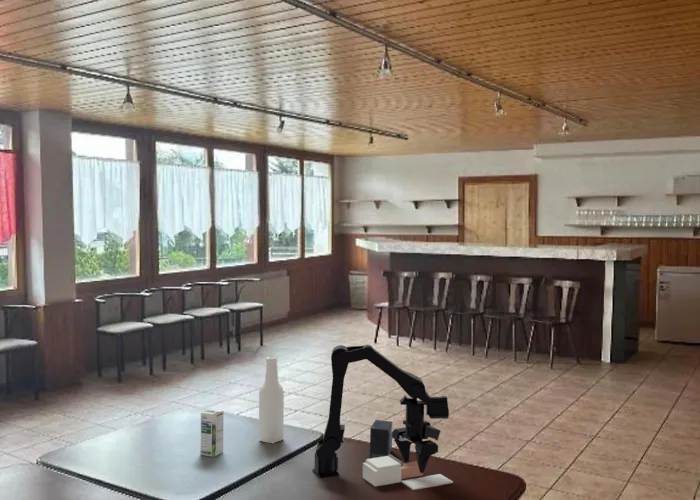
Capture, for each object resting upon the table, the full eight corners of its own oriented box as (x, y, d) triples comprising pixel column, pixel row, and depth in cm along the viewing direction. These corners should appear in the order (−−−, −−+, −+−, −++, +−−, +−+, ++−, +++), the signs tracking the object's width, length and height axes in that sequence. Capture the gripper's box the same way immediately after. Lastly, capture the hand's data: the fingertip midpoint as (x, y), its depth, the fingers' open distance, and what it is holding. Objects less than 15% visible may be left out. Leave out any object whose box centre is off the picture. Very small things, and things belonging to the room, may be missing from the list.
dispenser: (374, 486, 196) (375, 466, 196) (362, 477, 203) (362, 458, 203) (402, 481, 200) (403, 462, 200) (390, 472, 207) (390, 454, 207)
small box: (388, 461, 218) (388, 429, 218) (369, 459, 219) (369, 428, 219) (392, 450, 229) (393, 420, 228) (374, 449, 230) (374, 419, 230)
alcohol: (255, 442, 235) (255, 359, 235) (263, 435, 244) (264, 354, 243) (278, 444, 233) (279, 360, 233) (286, 437, 242) (287, 355, 241)
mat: (413, 490, 193) (413, 488, 193) (401, 481, 200) (401, 480, 200) (453, 482, 199) (453, 481, 199) (440, 475, 206) (440, 473, 206)
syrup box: (199, 455, 222) (199, 412, 221) (209, 449, 227) (210, 408, 227) (214, 457, 220) (214, 414, 219) (223, 452, 225) (224, 409, 225)
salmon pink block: (386, 482, 200) (386, 471, 200) (380, 478, 203) (380, 467, 203) (423, 476, 205) (423, 465, 205) (416, 472, 209) (416, 461, 209)
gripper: (453, 423, 201) (452, 474, 201) (421, 408, 218) (420, 455, 218) (422, 427, 196) (421, 479, 197) (391, 411, 213) (391, 459, 213)
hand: (414, 467), depth 206 cm, fingers open, 9 cm apart
